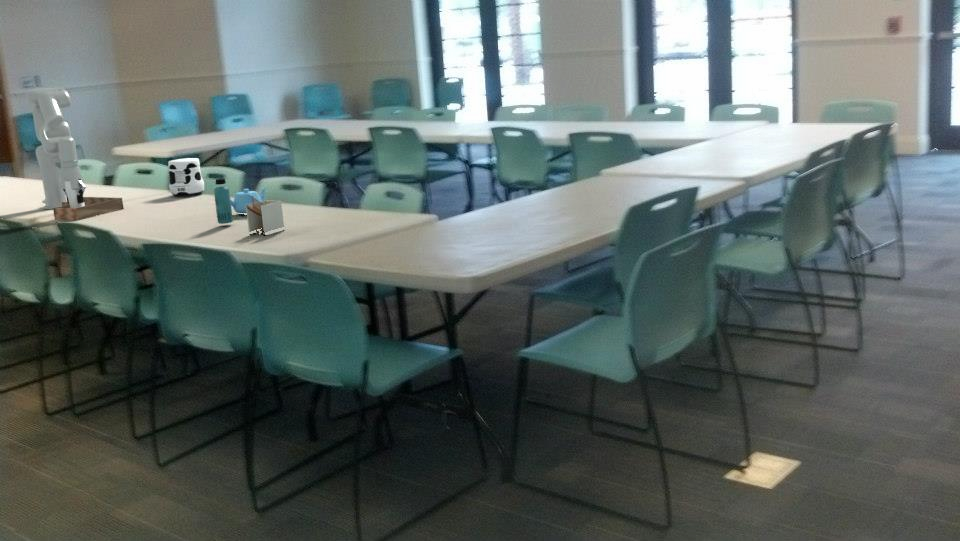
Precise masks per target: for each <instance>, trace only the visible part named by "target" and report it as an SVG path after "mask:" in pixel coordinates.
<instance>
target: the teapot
mask: <svg viewBox="0 0 960 541" xmlns="http://www.w3.org/2000/svg"><path fill="white" fill-rule="evenodd" d="M267 188H268V187H267V186H266V187H263V188H262V189H261V192H260V195H259V193H258V191H256V190H250V189H249V188H243V189H242V190H243V191H239V192H236V193H235V196H234V199H233V200H232V199H231V198H230V202H231V207H232V209H233V210H234V212H236V213H238V214H239V213H247V212H246V205H248V204H252V195H253V198H255V199H256V200H258V201H265V200H266V196H265V194H266V193H265V192H266V190H267ZM256 200H253V202H254V203H256V202H258V201H256Z"/></svg>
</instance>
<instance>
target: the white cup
mask: <svg viewBox="0 0 960 541" xmlns="http://www.w3.org/2000/svg"><path fill="white" fill-rule="evenodd" d="M65 188H66V193H67V196H68V200H69V204H70V208H78V207H83V206H84V205H83V203H80V204H78V201H77V195H78V194H77V192H76V189H75V190H72V189H71V184H70V181H65ZM78 188H80V186H78ZM79 191H80V189H79Z"/></svg>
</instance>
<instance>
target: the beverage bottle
mask: <svg viewBox="0 0 960 541" xmlns="http://www.w3.org/2000/svg"><path fill="white" fill-rule="evenodd" d="M226 183H227V182H226V179H225V178H217V179H215V186H216V187H215V188H214V189H213V192H214V193H213V194H214V203H215V209H216V210H215V211H216V217H217V218H216V219H217V223H218V224H221V225H222V224H231V223H233V220H234V218H233V217H234V216H233V211H232V210H233V208H232V206H231V202H230V199H231V197H230V188H229V187H228V186H226V185H225V184H226ZM219 185H221V186H219ZM222 185H224V186H222Z"/></svg>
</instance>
